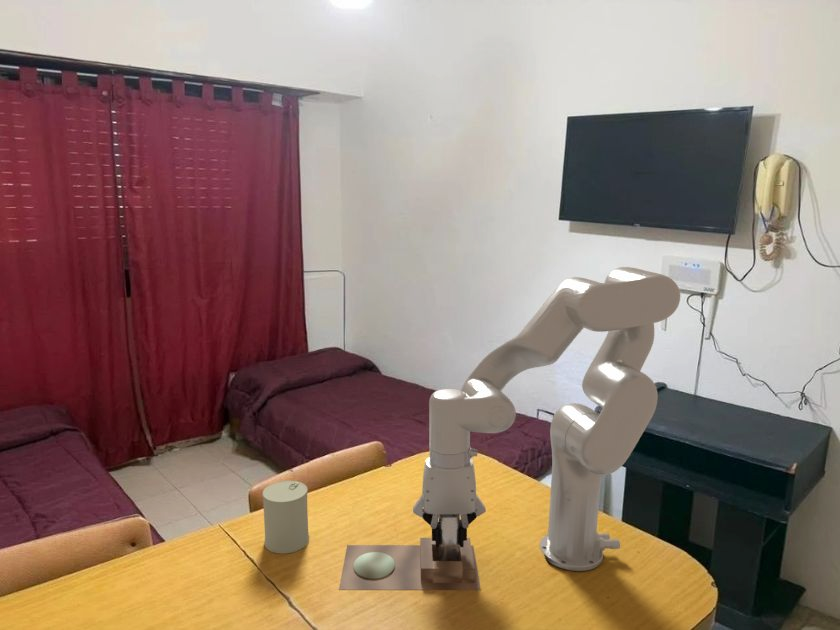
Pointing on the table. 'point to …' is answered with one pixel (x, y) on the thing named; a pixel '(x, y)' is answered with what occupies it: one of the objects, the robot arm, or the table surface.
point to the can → (285, 516)
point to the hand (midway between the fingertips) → (449, 542)
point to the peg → (449, 537)
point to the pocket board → (408, 568)
